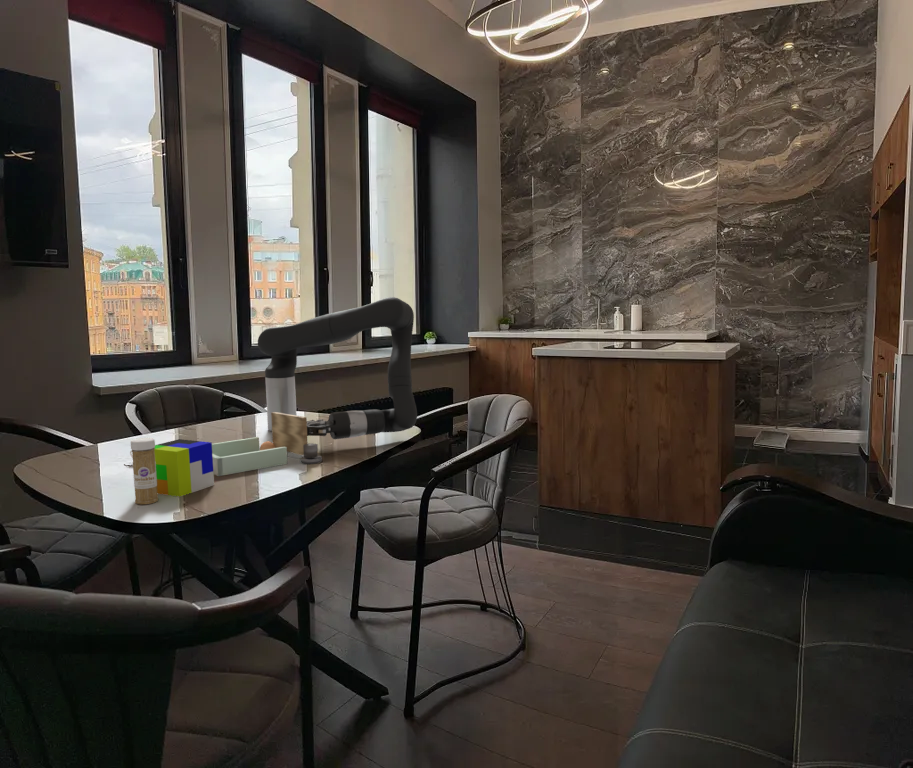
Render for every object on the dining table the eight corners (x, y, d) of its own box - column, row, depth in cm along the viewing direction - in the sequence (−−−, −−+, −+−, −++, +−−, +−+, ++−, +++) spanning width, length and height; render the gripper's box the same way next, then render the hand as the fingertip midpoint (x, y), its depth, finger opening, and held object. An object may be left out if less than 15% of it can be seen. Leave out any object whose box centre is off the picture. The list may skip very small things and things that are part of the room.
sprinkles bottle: (137, 506, 138) (132, 442, 136) (133, 501, 142) (128, 438, 140) (161, 502, 141) (156, 439, 139) (156, 497, 144) (152, 436, 143)
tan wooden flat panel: (320, 455, 175) (319, 418, 173) (309, 458, 172) (307, 420, 171) (280, 446, 186) (278, 411, 185) (269, 449, 183) (267, 413, 182)
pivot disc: (298, 460, 176) (297, 456, 176) (319, 458, 178) (319, 454, 178) (302, 465, 171) (302, 461, 171) (324, 462, 173) (324, 458, 173)
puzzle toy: (214, 485, 154) (211, 442, 152) (179, 497, 145) (176, 451, 143) (182, 480, 158) (179, 439, 157) (146, 492, 149) (143, 448, 148)
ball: (272, 439, 184) (268, 453, 184) (259, 438, 181) (255, 452, 181) (279, 444, 181) (275, 458, 182) (266, 443, 178) (262, 458, 179)
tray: (192, 463, 175) (191, 446, 174) (257, 452, 186) (257, 436, 186) (218, 476, 161) (216, 458, 161) (287, 463, 173) (286, 447, 172)
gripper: (340, 408, 195) (280, 414, 187) (354, 414, 183) (291, 421, 175) (341, 433, 196) (281, 440, 188) (356, 441, 184) (292, 449, 176)
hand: (286, 431), depth 182 cm, fingers closed
